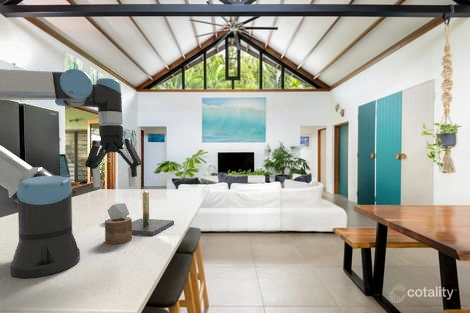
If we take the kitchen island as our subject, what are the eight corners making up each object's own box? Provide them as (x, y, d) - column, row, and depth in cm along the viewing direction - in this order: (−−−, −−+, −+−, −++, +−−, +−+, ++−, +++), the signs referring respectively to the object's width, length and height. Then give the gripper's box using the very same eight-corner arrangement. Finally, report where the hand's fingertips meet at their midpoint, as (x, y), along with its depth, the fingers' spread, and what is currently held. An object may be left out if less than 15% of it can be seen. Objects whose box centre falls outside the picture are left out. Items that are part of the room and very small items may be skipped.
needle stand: (153, 235, 96) (152, 194, 96) (115, 232, 100) (114, 193, 100) (174, 223, 111) (173, 188, 111) (140, 221, 115) (139, 188, 115)
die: (133, 220, 120) (129, 202, 124) (124, 215, 112) (121, 195, 117) (115, 228, 119) (112, 208, 124) (106, 223, 112) (102, 202, 116)
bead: (121, 245, 86) (120, 223, 86) (100, 243, 88) (99, 222, 88) (136, 237, 94) (135, 217, 94) (116, 235, 96) (116, 216, 96)
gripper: (150, 124, 93) (153, 184, 93) (87, 128, 97) (90, 185, 98) (138, 122, 85) (141, 188, 86) (71, 126, 90) (74, 188, 91)
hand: (114, 186), depth 92 cm, fingers open, 13 cm apart
